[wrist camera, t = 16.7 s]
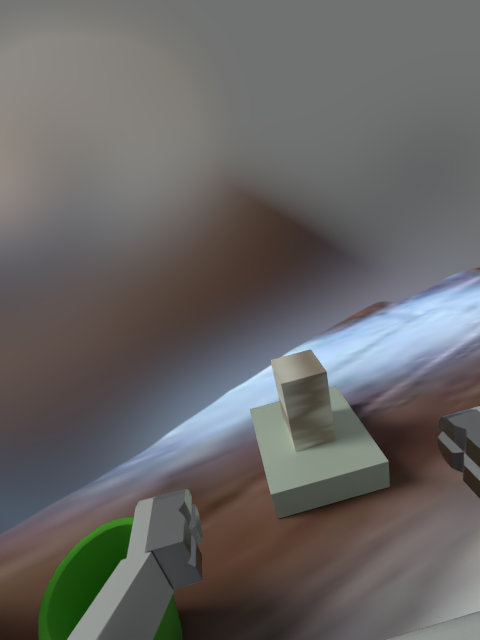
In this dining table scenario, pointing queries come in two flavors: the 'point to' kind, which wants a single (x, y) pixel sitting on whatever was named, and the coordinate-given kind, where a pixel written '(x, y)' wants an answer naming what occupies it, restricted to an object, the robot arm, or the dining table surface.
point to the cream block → (304, 399)
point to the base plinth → (318, 460)
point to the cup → (92, 583)
